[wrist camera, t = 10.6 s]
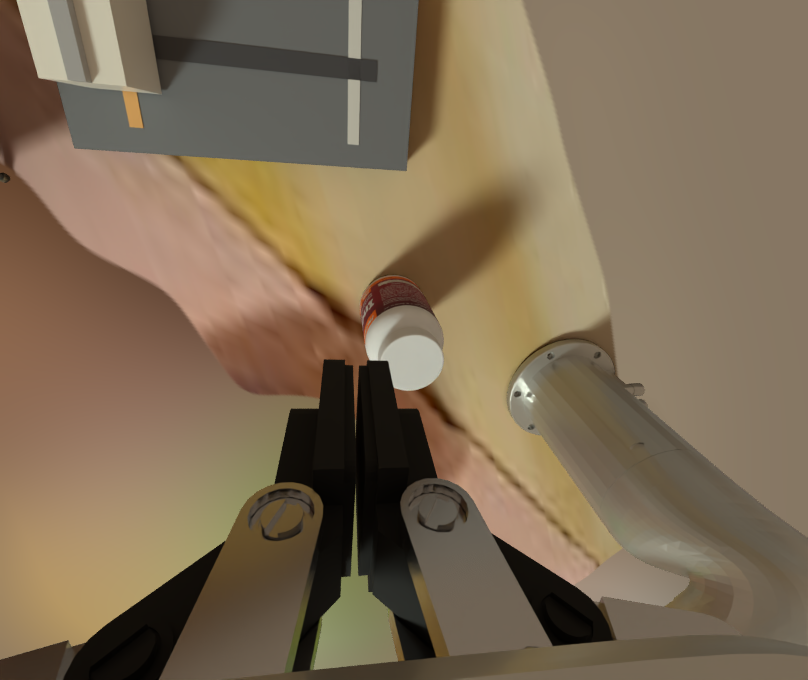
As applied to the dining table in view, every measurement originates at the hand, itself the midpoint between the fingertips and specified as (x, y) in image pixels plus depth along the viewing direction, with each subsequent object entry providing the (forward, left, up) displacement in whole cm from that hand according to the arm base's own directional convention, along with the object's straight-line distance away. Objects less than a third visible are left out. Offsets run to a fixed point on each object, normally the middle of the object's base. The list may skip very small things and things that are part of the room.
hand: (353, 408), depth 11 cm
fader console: (+6, -10, -26) cm, 29 cm away
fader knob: (+13, -10, -23) cm, 28 cm away
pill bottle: (-5, +8, -26) cm, 28 cm away
